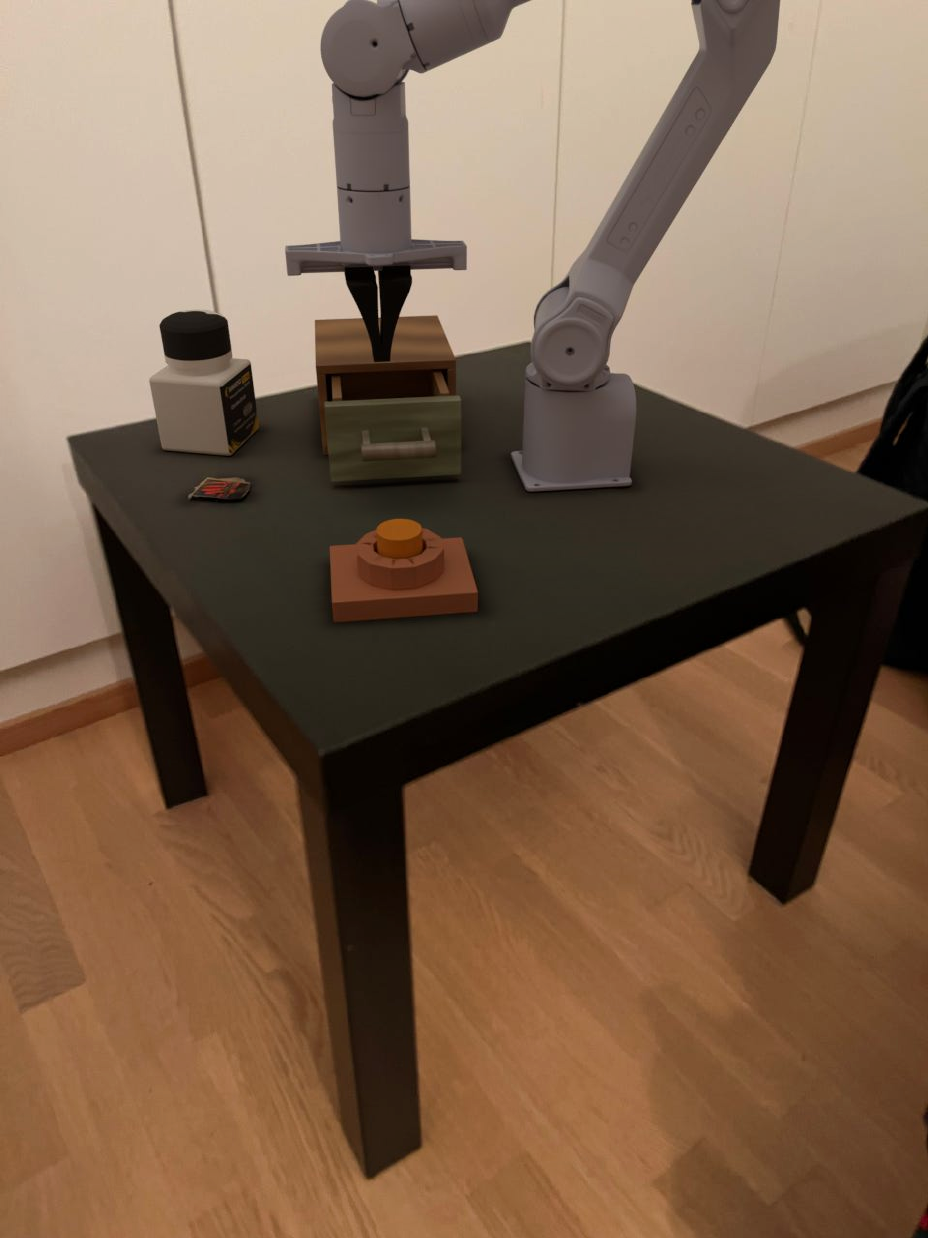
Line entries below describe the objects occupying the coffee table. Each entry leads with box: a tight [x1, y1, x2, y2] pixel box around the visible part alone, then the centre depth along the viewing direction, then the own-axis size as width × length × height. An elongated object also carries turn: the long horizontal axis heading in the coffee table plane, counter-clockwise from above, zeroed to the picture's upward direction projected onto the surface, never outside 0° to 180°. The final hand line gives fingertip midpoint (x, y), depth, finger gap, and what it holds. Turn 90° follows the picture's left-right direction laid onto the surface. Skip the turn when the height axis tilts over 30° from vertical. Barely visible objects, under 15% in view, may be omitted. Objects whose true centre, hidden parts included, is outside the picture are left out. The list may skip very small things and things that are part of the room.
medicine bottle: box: [148, 309, 260, 457], centre depth 87 cm, size 7×7×12 cm
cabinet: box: [314, 314, 457, 456], centre depth 92 cm, size 15×13×9 cm
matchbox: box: [187, 476, 251, 502], centre depth 81 cm, size 5×5×1 cm
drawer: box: [324, 369, 462, 483], centre depth 83 cm, size 18×11×7 cm, turn 8°
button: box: [375, 518, 423, 559], centre depth 66 cm, size 3×3×2 cm
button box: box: [329, 527, 479, 623], centre depth 67 cm, size 10×8×4 cm
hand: (381, 358), depth 80 cm, fingers closed
